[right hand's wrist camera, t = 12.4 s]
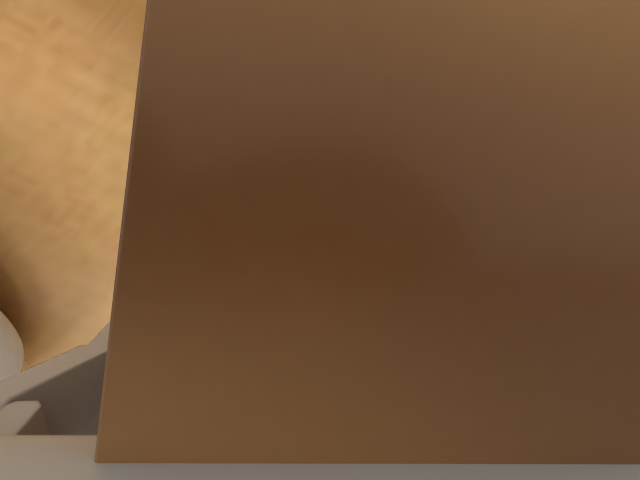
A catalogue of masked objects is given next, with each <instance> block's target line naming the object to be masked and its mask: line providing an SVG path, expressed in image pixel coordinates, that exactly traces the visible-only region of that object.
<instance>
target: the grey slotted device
mask: <svg viewBox="0 0 640 480" xmlns="http://www.w3.org/2000/svg"><path fill="white" fill-rule="evenodd" d="M23 363H24V348H23V344H22V341H21V339H20V337H19V335H18V333H17V331H16V330H15V328H14V327H13V325H12V324H11V322H10V321H9V320H8V318H7V317H6V316H5V315H4V314H3V313H2V312H1V311H0V381H2V380H4V379H7V378H9V377H11V376H13V375H16V374H18V373H20V372H21V369H22V366H23Z"/></svg>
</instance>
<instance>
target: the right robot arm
mask: <svg viewBox="0 0 640 480" xmlns="http://www.w3.org/2000/svg"><path fill="white" fill-rule="evenodd" d="M109 329H110V322H109V323H108V324H107V325H106V326H105V327H104V328H103V329H102V331H101V332H100V333H99V334H98V335H97V336H96V337H95V338H94V339H93V340H92V341H91V343H90V344H89V345H80V346H78V347H76V348H74V349H72V350H69V351H67V352H65V353H63V354H60V355H58V356H56V357H54V358H51V359H49V360H47V361H45V362H42V363H40V364H38V365H36V366H34V367H31V368H29V369H27V370H25V371H22V372H20V373H18V374H16V375H13V376H11V377H9V378H7V379H4V380H2V381H0V480H640V464H251V463H96V462H94V459H95V451H96V442H97V433H98V424H99V416H100V407H101V398H102V390H103V381H104V372H105V363H106V355H107V346H108V337H109Z"/></svg>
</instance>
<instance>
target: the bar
mask: <svg viewBox="0 0 640 480" xmlns="http://www.w3.org/2000/svg"><path fill="white" fill-rule="evenodd" d="M94 462H96V463H251V464H640V0H147V6H146V15H145V23H144V32H143V41H142V49H141V58H140V67H139V76H138V84H137V93H136V102H135V111H134V119H133V128H132V137H131V145H130V154H129V163H128V172H127V180H126V189H125V198H124V206H123V215H122V224H121V233H120V241H119V250H118V259H117V268H116V276H115V285H114V294H113V302H112V311H111V320H110V329H109V337H108V346H107V355H106V363H105V372H104V381H103V390H102V398H101V407H100V416H99V424H98V433H97V442H96V451H95V459H94Z"/></svg>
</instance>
